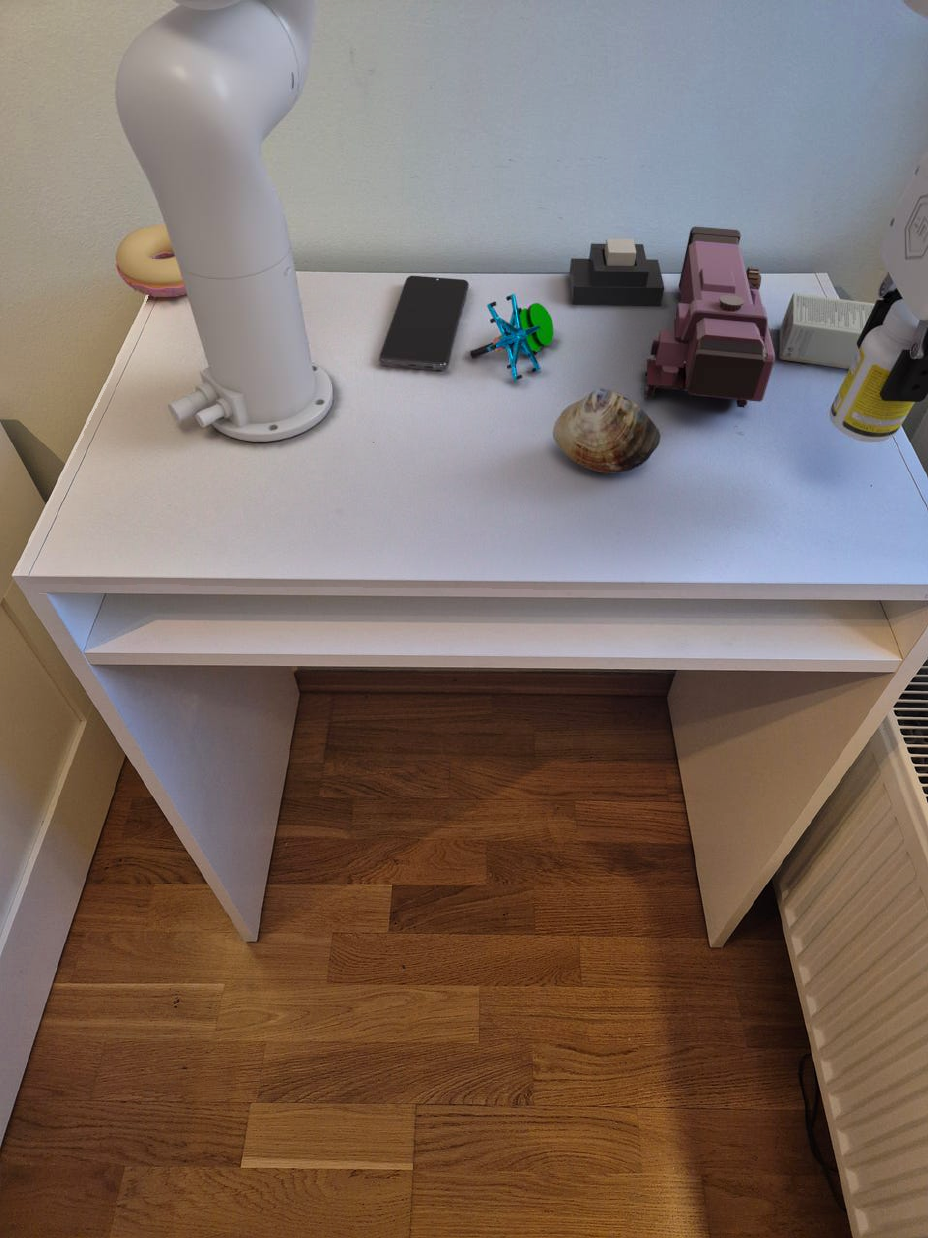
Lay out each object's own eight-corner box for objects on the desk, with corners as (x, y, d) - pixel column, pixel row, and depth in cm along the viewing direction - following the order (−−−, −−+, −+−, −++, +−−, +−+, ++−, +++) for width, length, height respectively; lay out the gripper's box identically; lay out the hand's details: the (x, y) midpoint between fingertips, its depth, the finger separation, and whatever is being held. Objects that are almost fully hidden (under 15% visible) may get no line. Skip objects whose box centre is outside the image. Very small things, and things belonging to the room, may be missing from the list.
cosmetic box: (777, 359, 83) (898, 380, 81) (792, 321, 79) (919, 342, 78) (779, 326, 87) (895, 345, 85) (793, 288, 83) (915, 307, 81)
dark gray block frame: (654, 277, 93) (661, 243, 90) (660, 305, 89) (668, 271, 86) (569, 276, 93) (572, 242, 90) (571, 304, 89) (575, 270, 86)
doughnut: (94, 233, 89) (106, 268, 93) (135, 283, 84) (145, 317, 88) (185, 207, 93) (193, 241, 97) (228, 253, 89) (235, 287, 92)
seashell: (541, 473, 73) (549, 401, 66) (559, 434, 76) (567, 363, 69) (643, 498, 71) (661, 427, 64) (657, 458, 74) (675, 386, 67)
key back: (631, 253, 89) (633, 238, 88) (633, 267, 87) (636, 252, 86) (604, 253, 89) (606, 238, 88) (606, 267, 87) (608, 252, 86)
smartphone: (377, 359, 81) (407, 273, 91) (378, 367, 82) (407, 282, 92) (447, 365, 81) (470, 278, 90) (447, 374, 82) (470, 287, 91)
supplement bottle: (910, 438, 63) (977, 328, 55) (851, 450, 62) (910, 340, 54) (871, 396, 66) (929, 287, 58) (814, 407, 65) (865, 297, 57)
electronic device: (739, 315, 92) (764, 224, 85) (763, 441, 73) (798, 337, 66) (644, 306, 93) (661, 215, 86) (643, 428, 74) (665, 324, 67)
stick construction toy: (522, 381, 77) (493, 301, 75) (466, 401, 81) (437, 326, 79) (572, 351, 86) (548, 279, 83) (519, 371, 90) (495, 302, 88)
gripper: (916, 51, 51) (811, 308, 66) (1021, 175, 41) (870, 447, 55) (1032, 55, 51) (902, 311, 66) (1167, 179, 41) (977, 450, 55)
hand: (888, 371), depth 60 cm, fingers closed on supplement bottle, 5 cm apart
